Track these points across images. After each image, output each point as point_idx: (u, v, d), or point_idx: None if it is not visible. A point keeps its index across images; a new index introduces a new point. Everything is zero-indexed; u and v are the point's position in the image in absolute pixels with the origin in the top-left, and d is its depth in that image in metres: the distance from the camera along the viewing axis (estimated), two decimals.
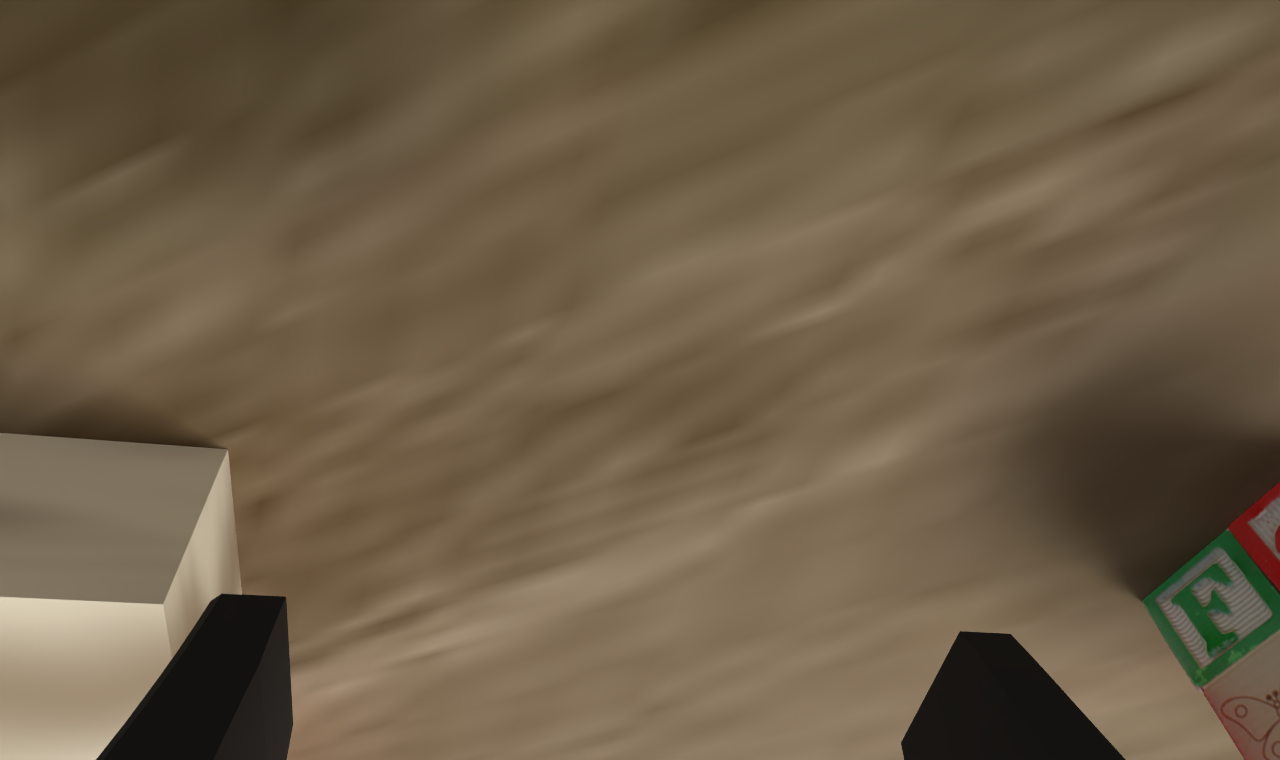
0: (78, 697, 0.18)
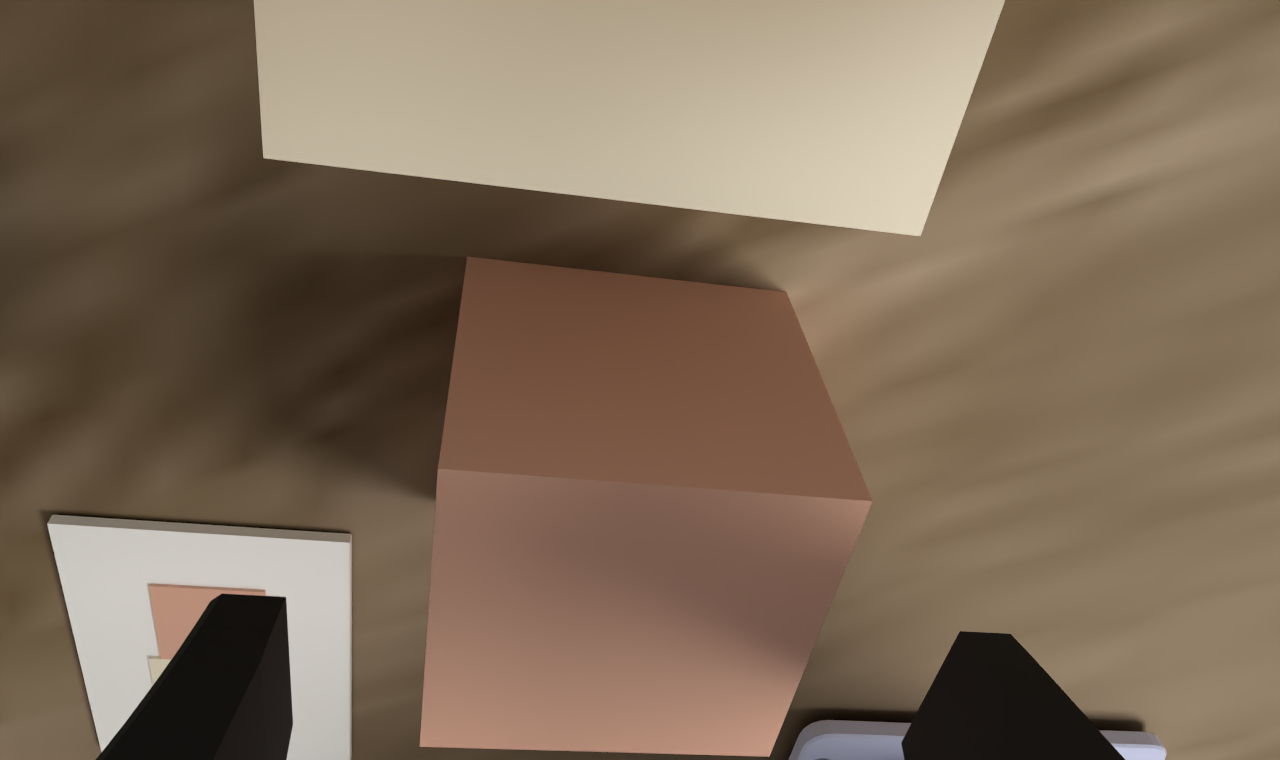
0: None
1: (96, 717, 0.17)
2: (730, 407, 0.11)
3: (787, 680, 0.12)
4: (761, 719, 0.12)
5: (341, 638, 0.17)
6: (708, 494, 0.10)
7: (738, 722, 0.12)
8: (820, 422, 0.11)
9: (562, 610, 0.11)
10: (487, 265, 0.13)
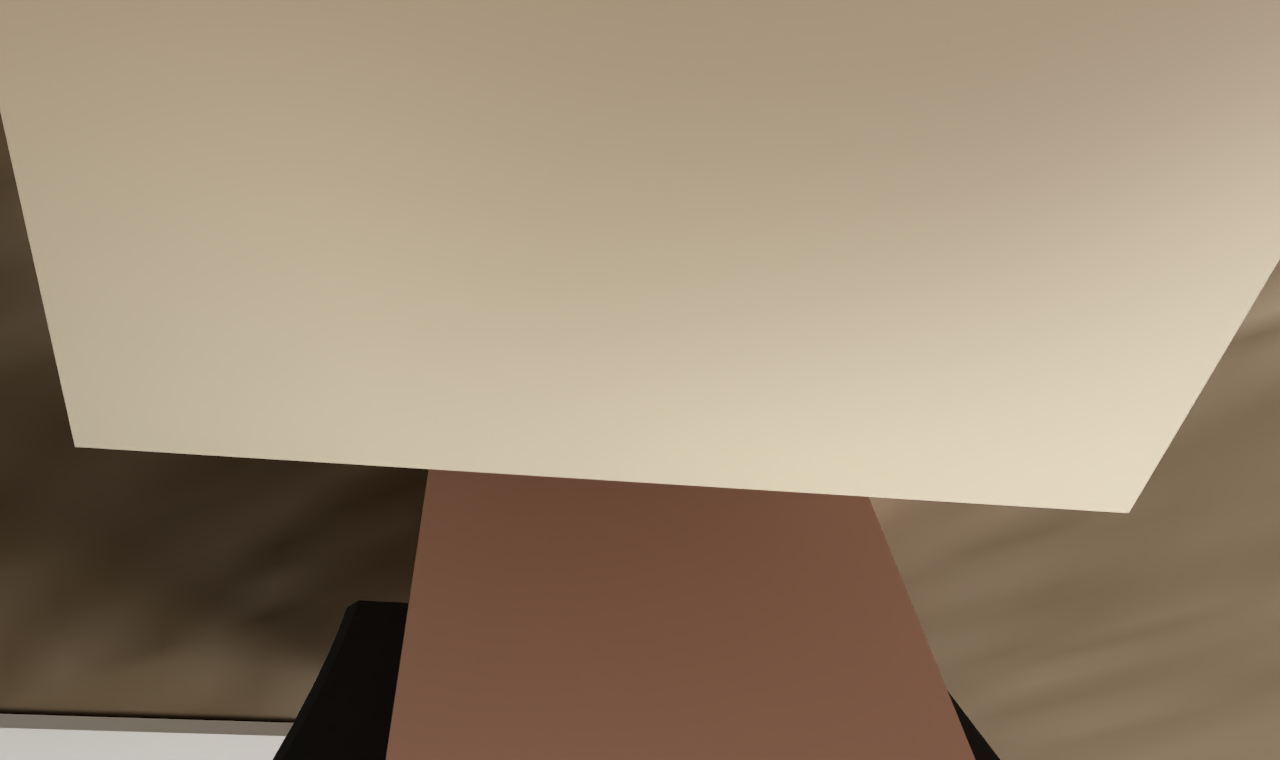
0: None
1: None
2: (795, 668, 0.08)
3: None
4: None
5: None
6: None
7: None
8: (918, 685, 0.08)
9: None
10: None
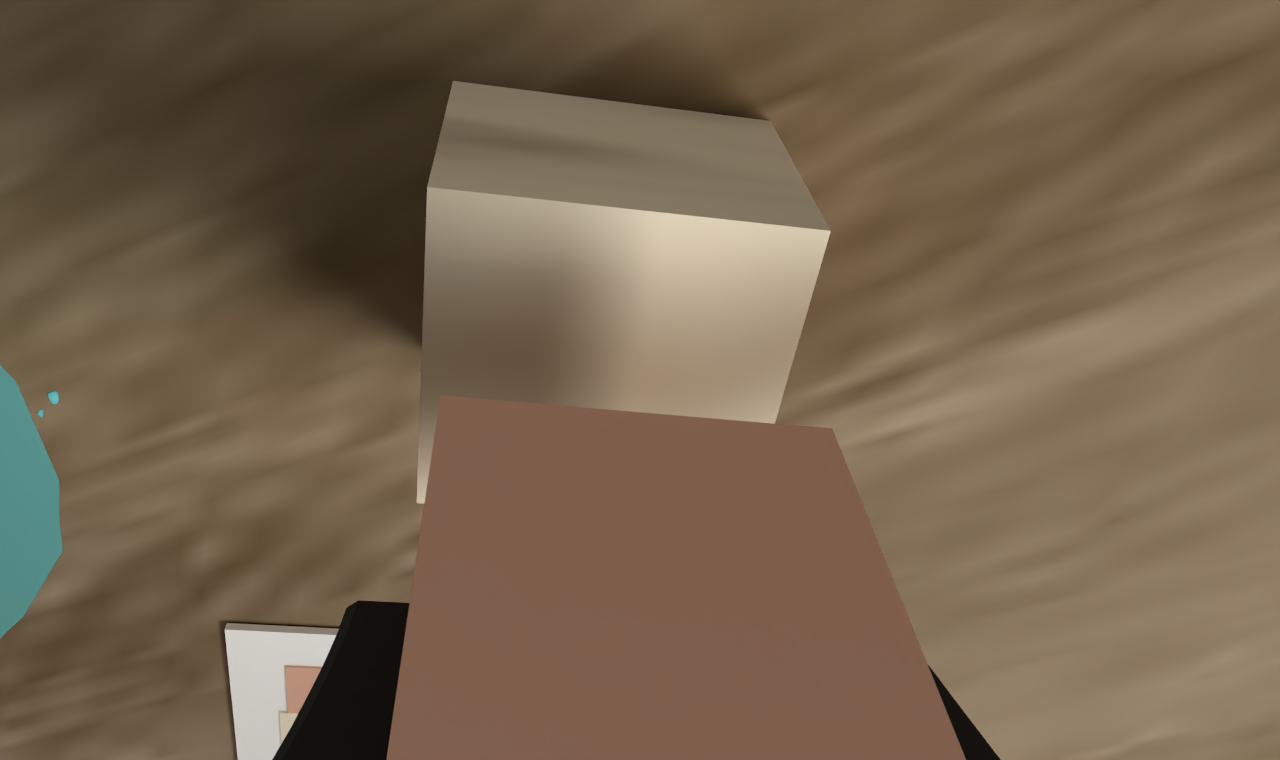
0: (668, 381, 0.15)
1: (239, 751, 0.25)
2: (777, 626, 0.09)
3: None
4: None
5: None
6: None
7: None
8: (893, 642, 0.09)
9: None
10: (465, 411, 0.10)
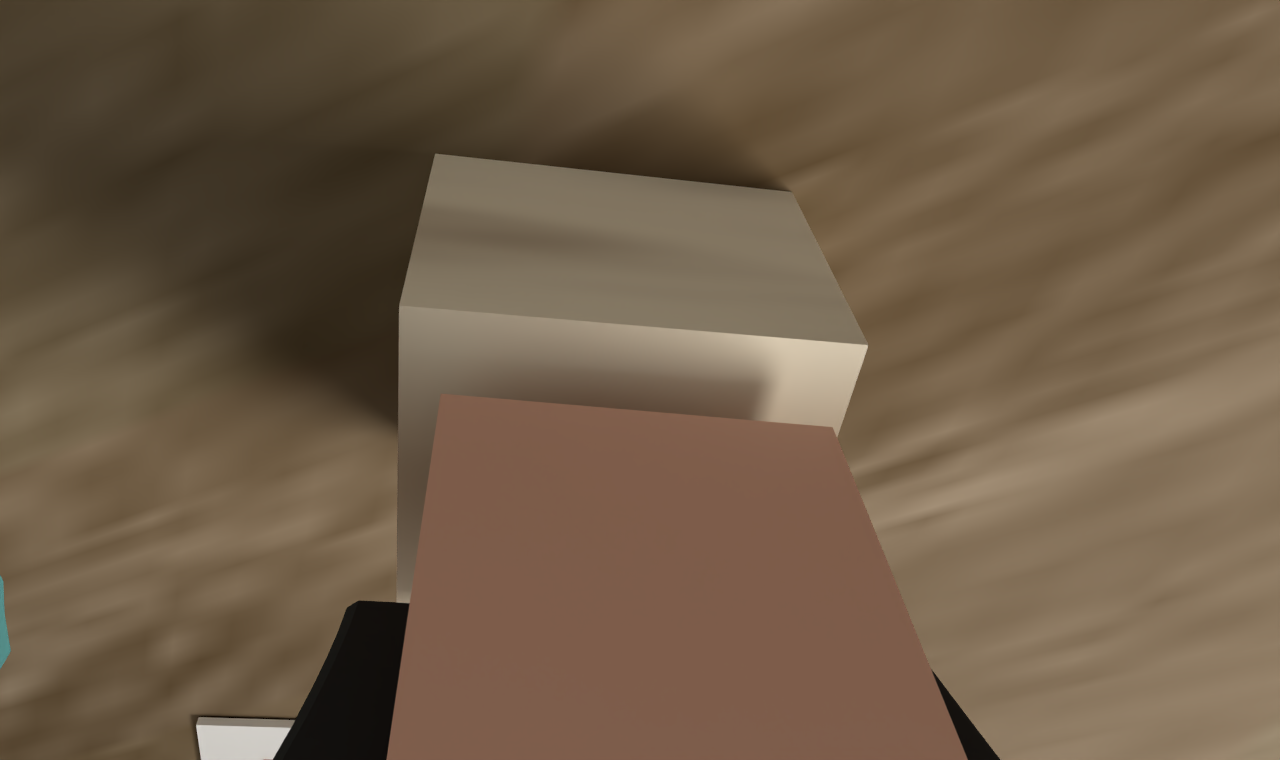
0: None
1: None
2: (777, 623, 0.09)
3: None
4: None
5: None
6: None
7: None
8: (893, 640, 0.09)
9: None
10: (465, 410, 0.10)
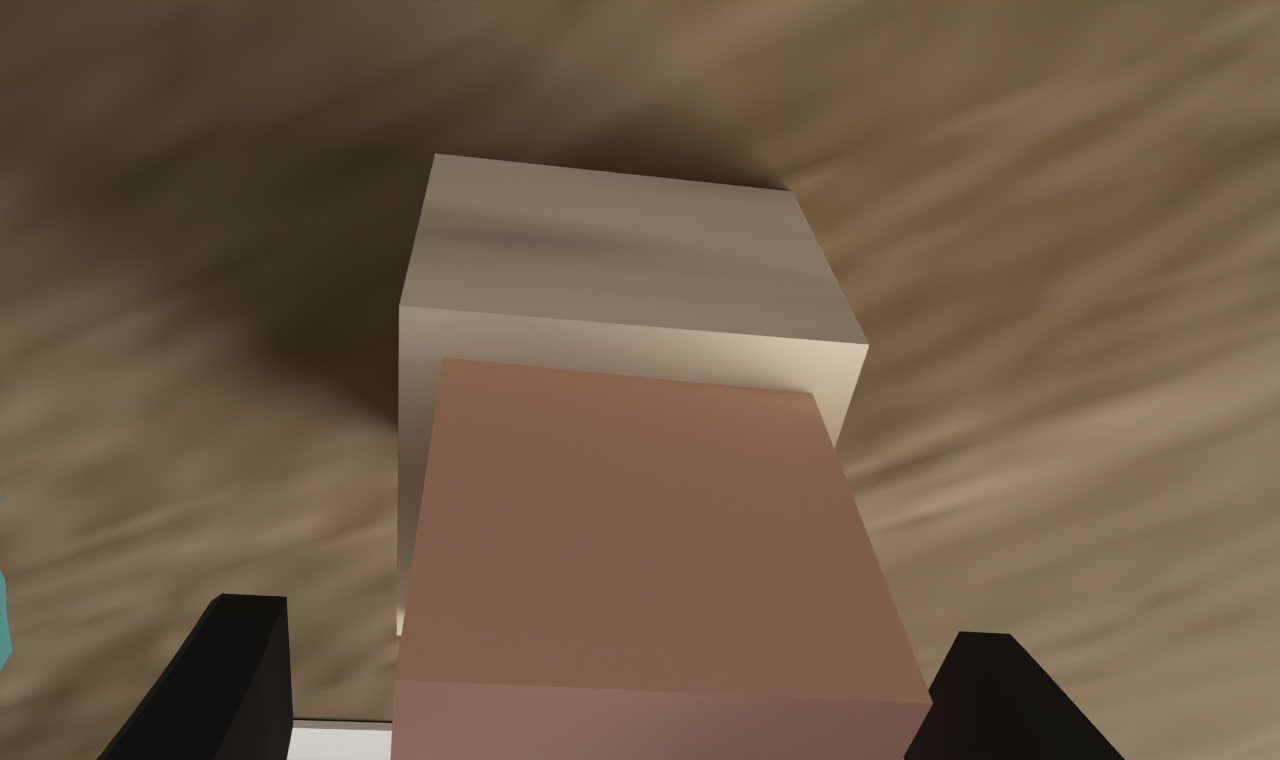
0: None
1: None
2: (756, 568, 0.09)
3: None
4: None
5: None
6: (731, 699, 0.08)
7: None
8: (863, 585, 0.09)
9: None
10: (466, 372, 0.11)
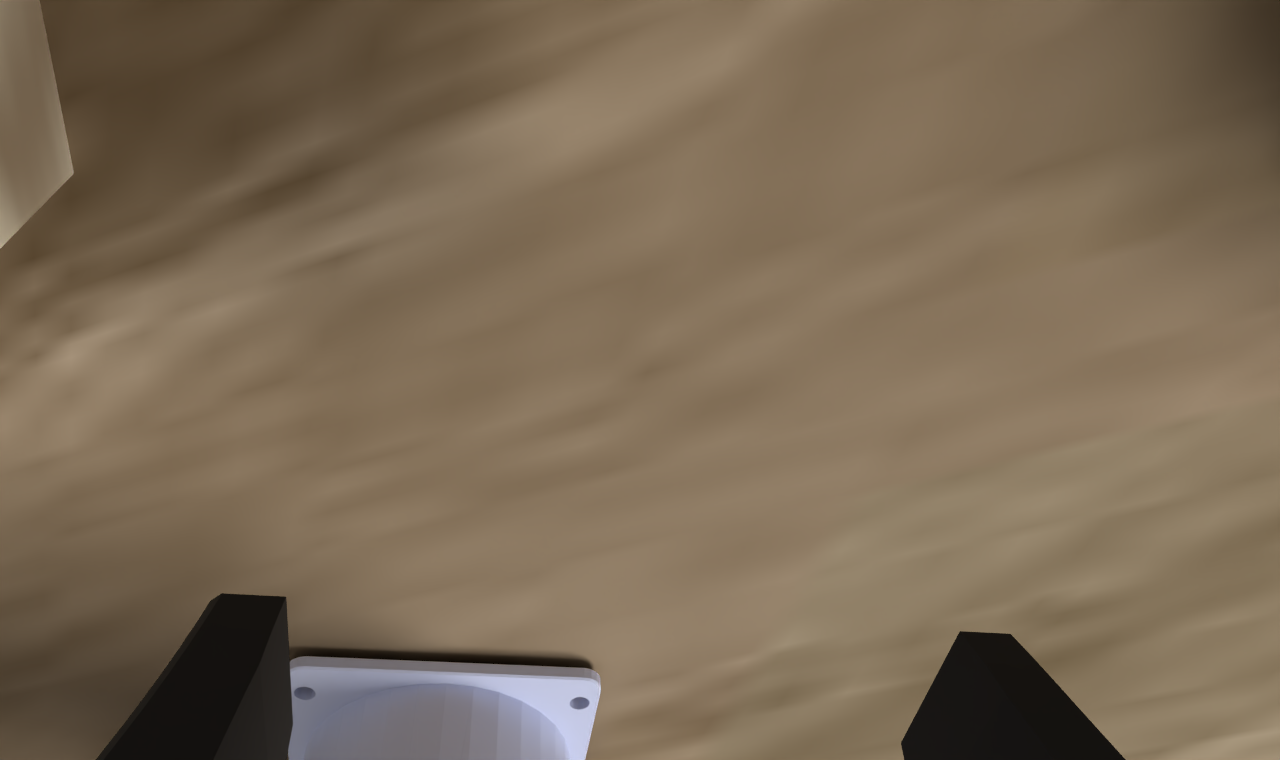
0: None
1: None
2: None
3: None
4: None
5: None
6: None
7: None
8: None
9: None
10: None
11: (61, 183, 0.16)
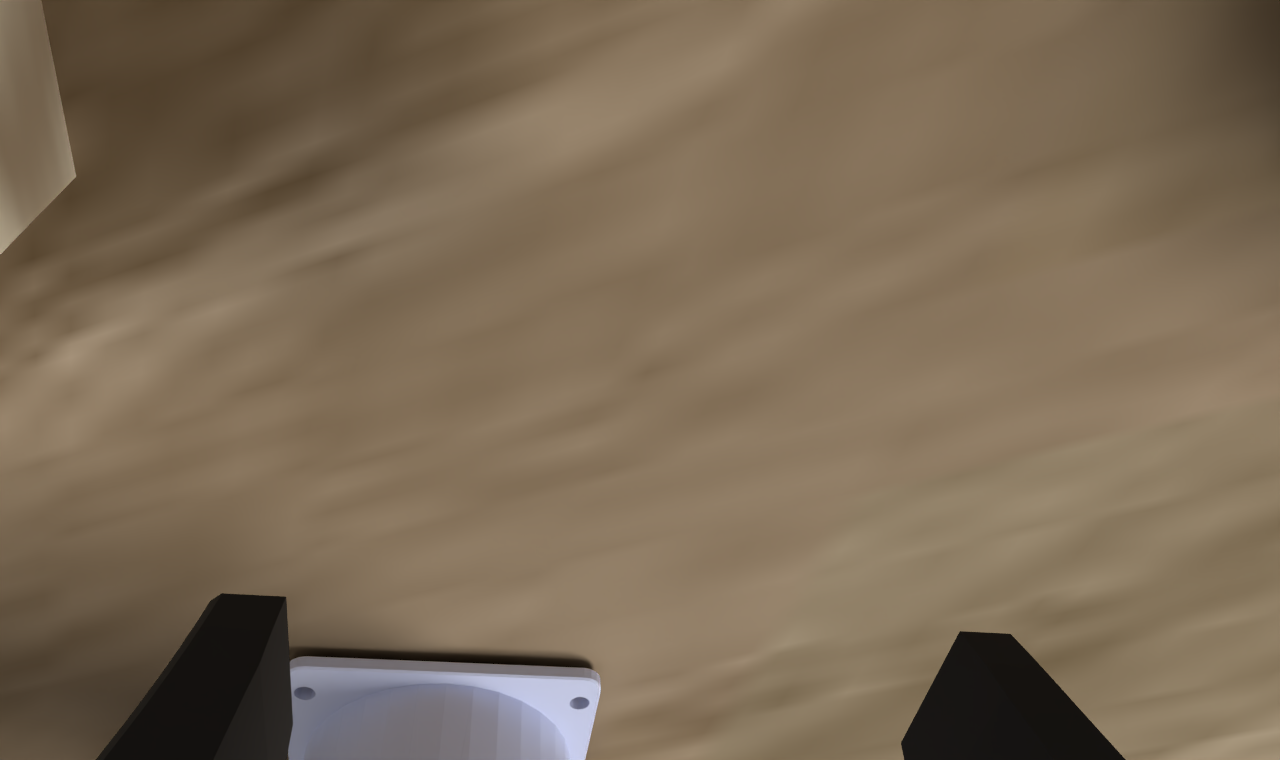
0: None
1: None
2: None
3: None
4: None
5: None
6: None
7: None
8: None
9: None
10: None
11: (63, 187, 0.17)
